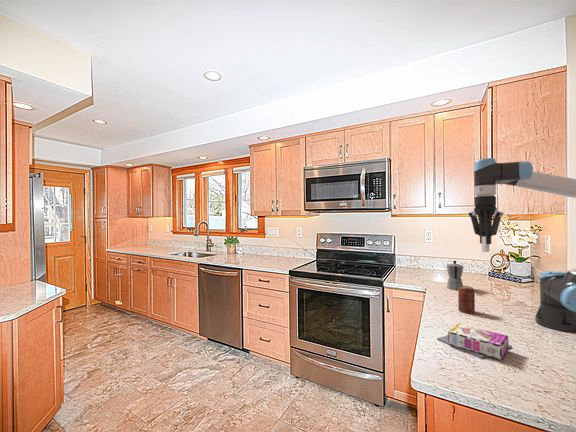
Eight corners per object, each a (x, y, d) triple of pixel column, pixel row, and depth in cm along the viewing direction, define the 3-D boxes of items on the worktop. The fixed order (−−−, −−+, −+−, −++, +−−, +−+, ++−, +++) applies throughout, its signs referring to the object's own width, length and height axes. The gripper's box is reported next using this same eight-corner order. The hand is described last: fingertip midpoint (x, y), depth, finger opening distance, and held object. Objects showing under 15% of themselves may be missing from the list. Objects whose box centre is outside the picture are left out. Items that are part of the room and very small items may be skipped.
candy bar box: (501, 345, 95) (447, 331, 106) (502, 360, 95) (447, 344, 106) (508, 334, 102) (457, 323, 114) (508, 348, 102) (457, 335, 114)
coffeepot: (446, 285, 194) (446, 258, 194) (462, 286, 190) (462, 259, 190) (447, 291, 180) (447, 262, 180) (465, 292, 176) (464, 263, 176)
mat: (466, 331, 120) (466, 329, 120) (511, 347, 105) (511, 345, 105) (437, 339, 112) (437, 338, 112) (481, 358, 97) (481, 357, 97)
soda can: (460, 308, 148) (460, 284, 148) (476, 311, 143) (476, 287, 143) (456, 311, 143) (456, 287, 143) (472, 314, 138) (472, 289, 138)
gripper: (464, 196, 126) (464, 250, 126) (496, 194, 114) (497, 254, 114) (474, 196, 129) (475, 249, 129) (507, 194, 117) (508, 252, 118)
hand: (485, 251), depth 122 cm, fingers closed
